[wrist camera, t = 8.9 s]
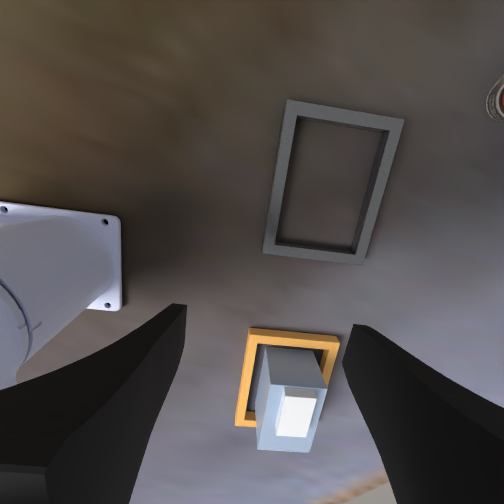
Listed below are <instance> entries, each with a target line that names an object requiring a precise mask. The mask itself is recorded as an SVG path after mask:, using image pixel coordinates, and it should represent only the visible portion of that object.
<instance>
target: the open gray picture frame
mask: <svg viewBox="0 0 504 504" xmlns="http://www.w3.org/2000/svg"><path fill="white" fill-rule="evenodd" d="M296 118H297V119H303V120H309V121H315V122H321V123H327V124H333V125H339V126H345V127H351V128H357V129H363V130H369V131H375V132H381V133H382V136H381V139H380V143H379V147H378V150H377V154H376V158H375V162H374V165H373V169H372V173H371V176H370V180H369V184H368V188H367V191H366V195H365V199H364V202H363V206H362V210H361V214H360V217H359V221H358V225H357V228H356V232H355V236H354V240H353V243H352V247H351V251H346V250H338V249H330V248H322V247H314V246H306V245H298V244H290V243H282V242H275V239H276V233H277V227H278V221H279V215H280V210H281V204H282V198H283V192H284V187H285V181H286V175H287V169H288V164H289V158H290V152H291V146H292V140H293V135H294V129H295V123H296ZM404 121H405V120H404V119H399V118H393V117H387V116H381V115H375V114H369V113H364V112H358V111H352V110H346V109H340V108H335V107H329V106H323V105H317V104H311V103H305V102H300V101H294V100H288V99H287V101H286V102H285V105H284V111H283V117H282V124H281V130H280V136H279V143H278V149H277V155H276V162H275V168H274V174H273V181H272V187H271V193H270V199H269V206H268V212H267V218H266V225H265V231H264V237H263V244H262V253H263V254H271V255H280V256H288V257H296V258H304V259H313V260H321V261H329V262H337V263H346V264H354V265H362V266H363V262H364V259H365V255H366V252H367V248H368V245H369V242H370V238H371V235H372V231H373V228H374V224H375V221H376V217H377V214H378V210H379V207H380V204H381V200H382V197H383V193H384V190H385V186H386V183H387V179H388V176H389V172H390V169H391V166H392V162H393V159H394V155H395V152H396V148H397V145H398V141H399V138H400V134H401V131H402V128H403V124H404Z"/></svg>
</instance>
